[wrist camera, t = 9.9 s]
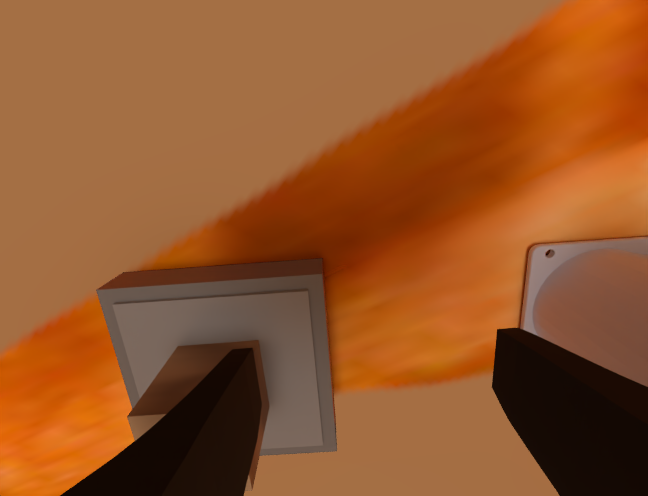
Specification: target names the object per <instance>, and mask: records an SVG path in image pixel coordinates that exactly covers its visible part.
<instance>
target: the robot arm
mask: <svg viewBox="0 0 648 496" xmlns="http://www.w3.org/2000/svg"><path fill="white" fill-rule="evenodd" d="M548 250H550V253H549V254H548V255H546V256H545V253H546V251H548ZM492 388H493V390H494V392H495V394H496V396H497V398H498V400H499V402H500V404H501V406H502V408H503V410H504V412H505V414H506V416H507V418H508V419H509V421H510V423H511V424H512V426H513V427H514V429H515V430H516V432H517V433H518V435H519V436H520V438H521V439H522V441H523V442H524V444H525V445H526V447H527V448H528V450H529V451H530V453H531V454H532V456H533V457H534V458H535V460H536V461H537V463H538V464H539V466H540V467H541V469H542V470H543V472H544V473H545V475H546V476H547V477H548V479H549V480H550V482H551V483H552V485H553V486H554V488H555V489H556V490H557V492H558V494H559V495H560V496H648V236H646V237H632V238H618V239H604V240H590V241H576V242H562V243H548V244H537V245H534V246H533V247H532V248H531V249H530V251H529V255H528V264H527V273H526V282H525V290H524V299H523V308H522V317H521V326H520V328H509V329H497V339H496V349H495V360H494V371H493V382H492ZM261 408H262V401H261V395H260V389H259V383H258V376H257V370H256V364H255V358H254V352H253V348H241V349H232V350H231V351H230V352H229V353H228V354H227V355H226V356H225V357H224V358H223V359H222V360H221V361H220V362H219V363H218V364H217V365H216V366H215V367H214V368H213V369H212V370H211V371H210V372H209V373H208V375H207V376H206V377H205V378H204V379H203V380H202V381H201V382H200V383H199V384H198V385H197V386H196V387H195V388H194V389H193V390H192V391H191V392H190V393H189V394H188V395H186V396H185V397H184V398H183V399H182V400H181V401H180V402H179V403H178V404H177V405H176V406H175V407H173V408H172V409H171V410H170V411H169V412H168V413H167V414H166V415H165V416H164V417H163V418H161V419H160V420H159V421H158V422H157V423H156V424H155V425H154V426H152V427H151V428H150V429H149V430H148V431H147V432H145V433H144V434H143V435H142V436H141V437H139V438H138V439H137V440H136V441H134V442H133V443H132V444H131V445H129V446H128V447H127V448H125V449H124V450H123V451H122V452H120V453H119V454H118V455H117V456H115V457H114V458H113V459H111V460H110V461H109V462H107V463H106V464H104V465H103V466H102V467H100V468H99V469H97V470H96V471H94V472H93V473H92V474H90V475H89V476H87V477H86V478H85V479H83V480H82V481H80V482H79V483H77V484H76V485H75V486H73V487H72V488H70V489H69V490H67V491H66V492H65V493H63V494H62V495H60V496H244V491H245V488H246V484H247V480H248V476H249V472H250V468H251V464H252V460H253V456H254V451H255V447H256V443H257V439H258V432H259V425H260V416H261Z"/></svg>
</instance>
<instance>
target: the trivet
mask: <svg viewBox="0 0 648 496" xmlns="http://www.w3.org/2000/svg"><path fill="white" fill-rule="evenodd" d="M96 291H97V294H98V297H99V301H100V304H101V307H102V310H103V314H104V317H105V320H106V324H107V327H108V330H109V333H110V337H111V340H112V343H113V346H114V350H115V353H116V356H117V360H118V363H119V366H120V369H121V373H122V376H123V379H124V382H125V386H126V389H127V392H128V396H129V399H130V402H131V405H132V409H133V408H134V406H135V405H136V404H137V402H138V401H139V400H140V398H141V397H142V395H143V394H144V393H145V391H146V390H147V388H148V387H149V386H150V384H151V383H152V381H153V380H154V379H155V377H156V376H157V374H158V373H159V372H160V370H161V369H162V367H163V366H164V365H165V363H166V362H167V360H168V359H169V358H170V356H171V355H172V353H173V352H174V351H175V349H176V348H177V346H186V345H199V344H213V343H226V342H240V341H253V340H259V345H260V352H261V358H262V364H263V370H264V376H265V382H266V388H267V394H268V400H269V406H270V407H269V412H268V416H267V421H266V426H265V431H264V436H263V441H262V446H261V450H260V455H259V456H262V455H279V454H296V453H313V452H329V451H330V452H331V451H337V442H336V420H335V407H334V394H333V382H332V370H331V358H330V346H329V333H328V321H327V309H326V297H325V284H324V272H323V260H322V258H319V259H305V260H291V261H277V262H263V263H249V264H235V265H221V266H207V267H193V268H179V269H165V270H151V271H137V272H123V273H122V274H120V275H118V276H117V277H115V278H114V279H112V280H111V281H109V282H108V283H106V284H105V285H103V286H102V287H100V288H99V289H97V290H96Z"/></svg>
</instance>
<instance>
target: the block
mask: <svg viewBox="0 0 648 496" xmlns="http://www.w3.org/2000/svg"><path fill="white" fill-rule="evenodd" d="M241 348H253V352H254V358H255V364H256V370H257V376H258V383H259V389H260V395H261V401H262V408H261V416H260V425H259V432H258V439H257V443H256V447H255V451H254V456H253V460H252V464H251V468H250V472H249V476H248V480H247V484H246V488H245V491H252V489H253V484H254V479H255V474H256V469H257V465H258V460H259V455H260V450H261V446H262V441H263V436H264V431H265V426H266V421H267V416H268V412H269V407H270V406H269V400H268V394H267V388H266V382H265V376H264V370H263V364H262V358H261V352H260V345H259V340H253V341H240V342H226V343H213V344H199V345H186V346H177V348H176V349H175V351H174V352H173V353H172V355H171V356H170V358H169V359H168V360H167V362H166V363H165V365H164V366H163V367H162V369H161V370H160V372H159V373H158V374H157V376H156V377H155V379H154V380H153V381H152V383H151V384H150V386H149V387H148V388H147V390H146V391H145V393H144V394H143V395H142V397H141V398H140V400H139V401H138V402H137V404H136V405H135V406H134V408H133V409H132V411H131V412H130V413H129V415H128V416H127V418H128V421H129V424H130V427H131V430H132V433H133V436H134V439H135V441H136V440H137V439H138V438H139V437H141V436H142V435H143V434H144V433H145V432H147V431H148V430H149V429H150V428H151V427H152V426H154V425H155V424H156V423H157V422H158V421H159V420H160V419H161V418H163V417H164V416H165V415H166V414H167V413H168V412H169V411H170V410H171V409H172V408H173V407H175V406H176V405H177V404H178V403H179V402H180V401H181V400H182V399H183V398H184V397H185V396H186V395H188V394H189V393H190V392H191V391H192V390H193V389H194V388H195V387H196V386H197V385H198V384H199V383H200V382H201V381H202V380H203V379H204V378H205V377H206V376H207V375H208V373H209V372H210V371H211V370H212V369H213V368H214V367H215V366H216V365H217V364H218V363H219V362H220V361H221V360H222V359H223V358H224V357H225V356H226V355H227V354H228V353H229V352H230V351H231V350H232V349H241Z"/></svg>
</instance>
